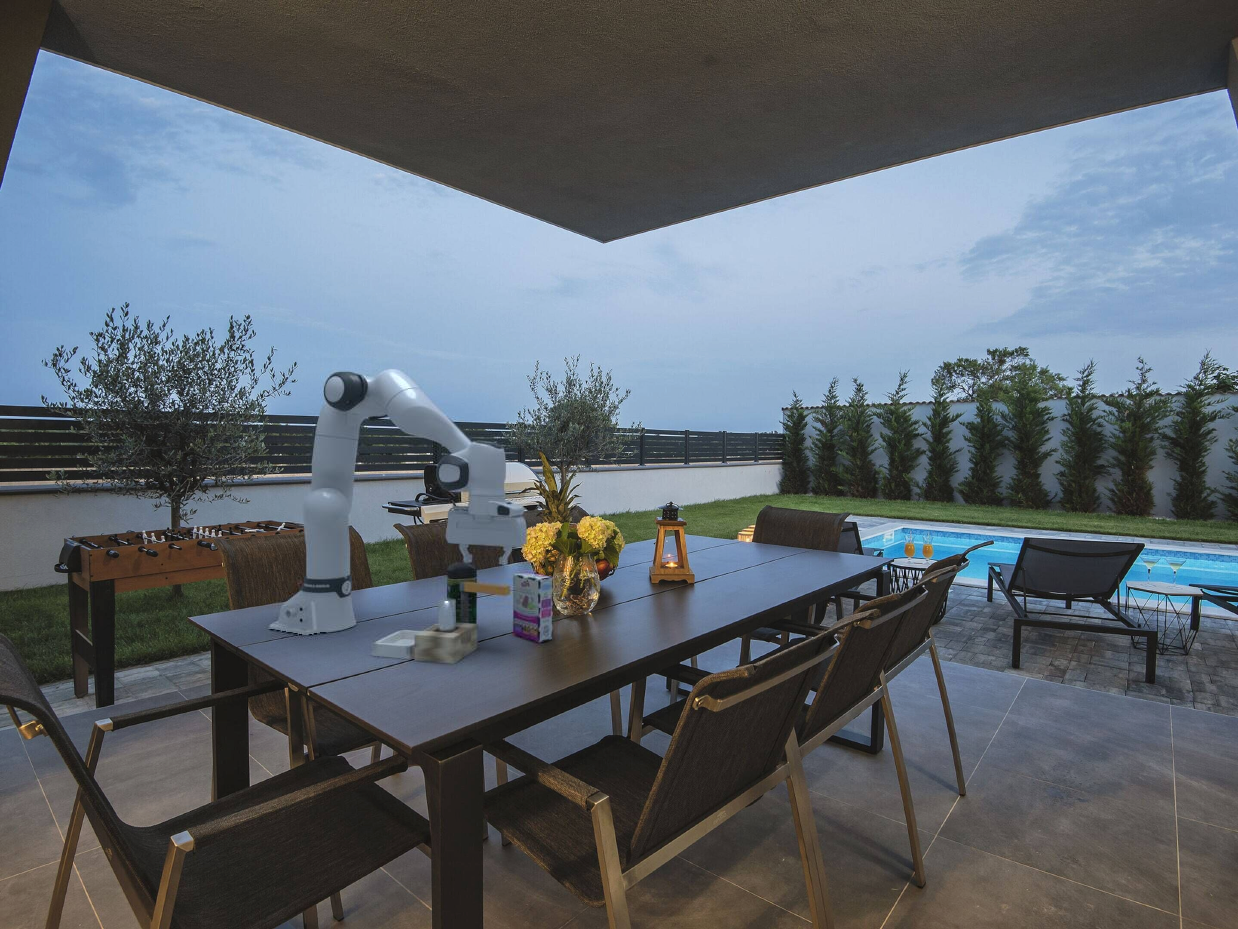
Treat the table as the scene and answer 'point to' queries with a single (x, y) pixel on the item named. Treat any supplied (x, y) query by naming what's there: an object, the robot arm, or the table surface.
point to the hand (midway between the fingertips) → (485, 563)
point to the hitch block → (447, 640)
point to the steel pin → (447, 615)
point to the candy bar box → (533, 607)
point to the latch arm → (485, 588)
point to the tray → (396, 645)
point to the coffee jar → (454, 577)
